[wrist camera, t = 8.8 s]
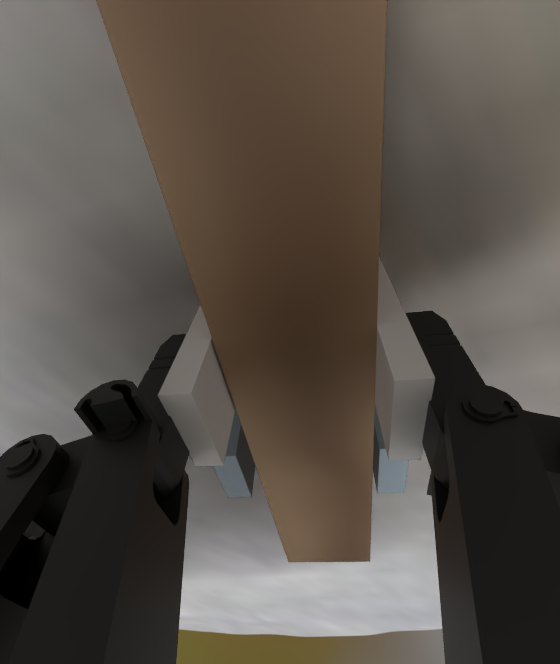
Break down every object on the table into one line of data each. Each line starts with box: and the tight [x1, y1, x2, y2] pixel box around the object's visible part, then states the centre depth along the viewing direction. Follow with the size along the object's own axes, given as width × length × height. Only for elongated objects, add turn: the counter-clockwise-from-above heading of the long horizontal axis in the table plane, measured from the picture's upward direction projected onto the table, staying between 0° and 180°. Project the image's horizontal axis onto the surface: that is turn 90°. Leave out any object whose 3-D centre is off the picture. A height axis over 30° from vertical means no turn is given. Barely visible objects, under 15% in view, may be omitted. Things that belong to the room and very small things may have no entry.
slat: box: [96, 0, 387, 562], centre depth 12 cm, size 4×22×5 cm, turn 9°
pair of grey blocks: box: [213, 405, 409, 498], centre depth 16 cm, size 8×4×3 cm, turn 98°
